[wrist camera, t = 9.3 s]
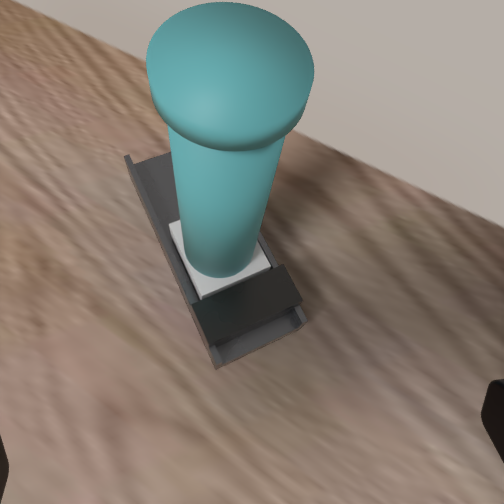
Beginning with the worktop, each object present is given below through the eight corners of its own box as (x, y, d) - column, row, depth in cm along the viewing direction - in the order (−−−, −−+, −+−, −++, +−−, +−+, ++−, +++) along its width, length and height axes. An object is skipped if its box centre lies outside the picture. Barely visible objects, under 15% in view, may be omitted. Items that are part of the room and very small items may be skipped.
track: (299, 329, 22) (311, 316, 19) (215, 370, 21) (216, 362, 18) (205, 150, 26) (205, 119, 23) (129, 176, 24) (120, 147, 22)
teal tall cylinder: (269, 275, 22) (344, 99, 10) (198, 306, 21) (186, 153, 9) (236, 211, 23) (268, -13, 11) (167, 238, 22) (121, 23, 10)
